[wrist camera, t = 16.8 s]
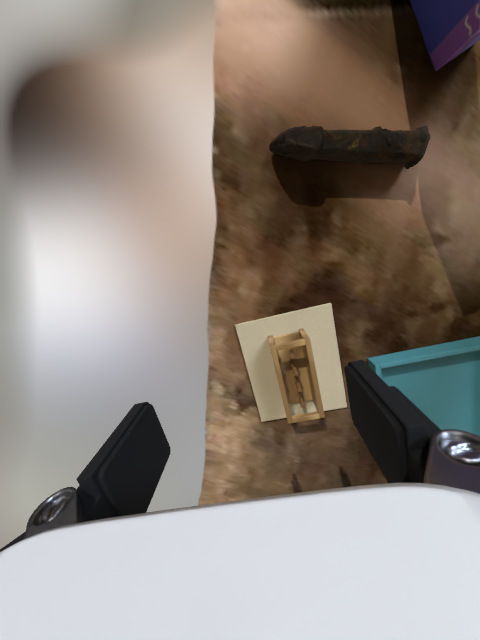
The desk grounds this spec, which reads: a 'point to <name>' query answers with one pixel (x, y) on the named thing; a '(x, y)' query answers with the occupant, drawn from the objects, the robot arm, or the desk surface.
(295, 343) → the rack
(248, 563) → the robot arm
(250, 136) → the desk surface
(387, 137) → the hand tool
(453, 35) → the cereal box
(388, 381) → the teal tray
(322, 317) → the mat
